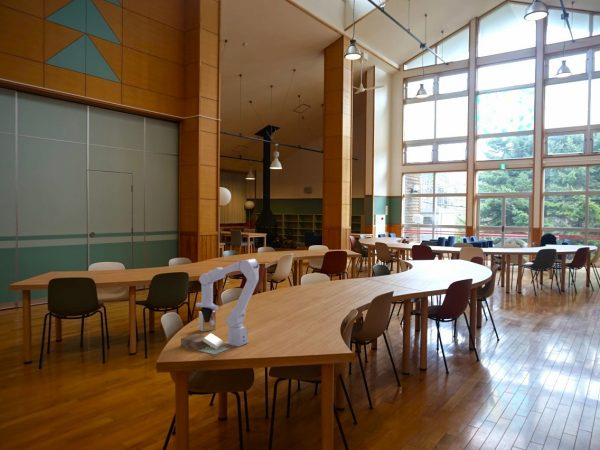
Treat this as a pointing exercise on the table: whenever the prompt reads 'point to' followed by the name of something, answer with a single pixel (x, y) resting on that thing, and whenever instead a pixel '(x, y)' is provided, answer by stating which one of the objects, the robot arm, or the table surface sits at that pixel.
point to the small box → (207, 322)
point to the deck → (194, 342)
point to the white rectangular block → (213, 341)
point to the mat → (214, 350)
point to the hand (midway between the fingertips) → (207, 322)
